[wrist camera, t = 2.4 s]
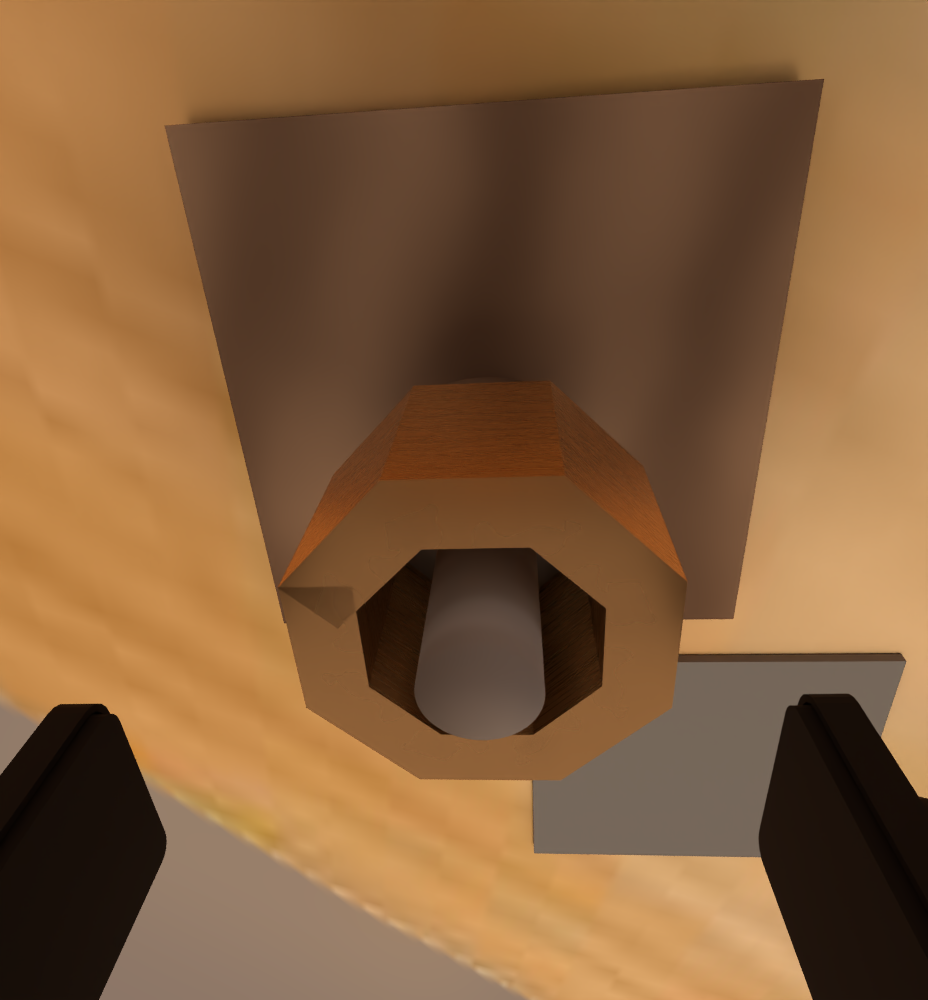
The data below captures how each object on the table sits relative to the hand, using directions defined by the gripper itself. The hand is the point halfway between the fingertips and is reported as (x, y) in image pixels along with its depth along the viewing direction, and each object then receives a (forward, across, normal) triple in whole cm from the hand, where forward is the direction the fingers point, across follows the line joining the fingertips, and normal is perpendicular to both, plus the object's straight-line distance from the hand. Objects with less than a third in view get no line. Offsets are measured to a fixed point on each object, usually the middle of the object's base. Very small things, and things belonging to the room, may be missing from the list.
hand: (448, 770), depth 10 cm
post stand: (+14, -1, -1) cm, 14 cm away
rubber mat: (+14, -9, +16) cm, 23 cm away
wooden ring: (+6, 0, 0) cm, 6 cm away
